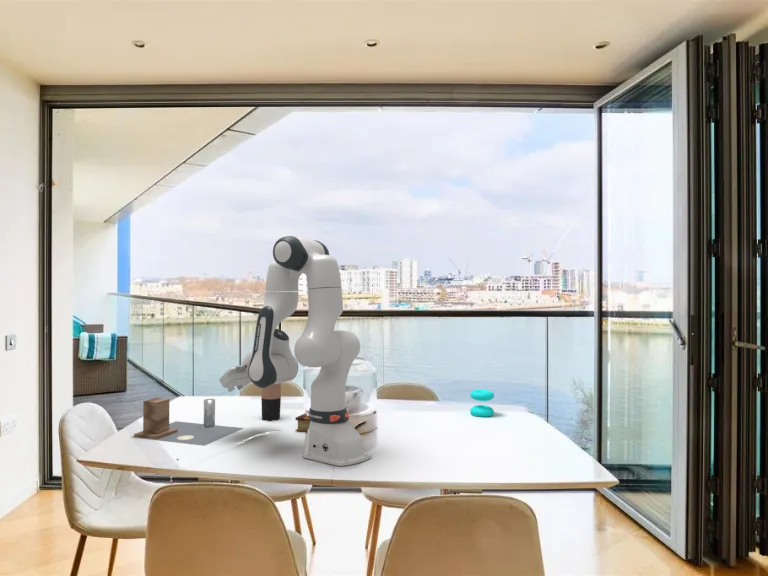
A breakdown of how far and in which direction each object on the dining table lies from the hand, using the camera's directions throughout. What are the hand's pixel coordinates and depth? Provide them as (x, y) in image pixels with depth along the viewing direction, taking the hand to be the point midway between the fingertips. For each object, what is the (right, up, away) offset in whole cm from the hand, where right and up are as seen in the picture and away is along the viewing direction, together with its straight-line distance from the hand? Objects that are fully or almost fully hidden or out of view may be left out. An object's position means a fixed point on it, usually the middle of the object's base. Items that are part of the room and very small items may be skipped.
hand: (234, 389), depth 198 cm
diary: (+34, -17, +13) cm, 40 cm away
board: (-16, -16, -2) cm, 23 cm away
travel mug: (+8, -17, +24) cm, 30 cm away
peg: (-11, -15, +6) cm, 20 cm away
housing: (-26, -15, -5) cm, 31 cm away
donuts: (+95, -18, +35) cm, 103 cm away
